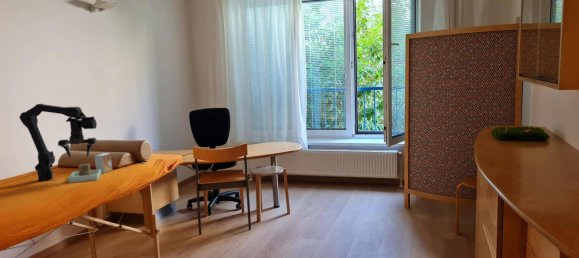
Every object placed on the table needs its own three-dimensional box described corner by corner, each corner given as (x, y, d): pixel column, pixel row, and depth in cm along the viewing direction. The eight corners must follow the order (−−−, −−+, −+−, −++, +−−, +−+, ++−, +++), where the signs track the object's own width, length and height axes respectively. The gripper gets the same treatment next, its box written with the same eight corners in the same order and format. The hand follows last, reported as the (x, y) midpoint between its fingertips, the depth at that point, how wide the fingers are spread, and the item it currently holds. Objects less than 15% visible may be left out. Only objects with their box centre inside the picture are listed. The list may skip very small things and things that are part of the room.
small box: (104, 173, 251) (102, 155, 250) (96, 173, 252) (94, 155, 251) (112, 170, 259) (111, 153, 258) (104, 170, 260) (102, 153, 259)
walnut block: (79, 178, 236) (78, 166, 235) (81, 176, 241) (80, 164, 240) (89, 177, 238) (88, 165, 237) (90, 175, 242) (89, 163, 241)
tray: (68, 182, 231) (68, 177, 230) (74, 176, 244) (73, 171, 244) (97, 179, 235) (97, 174, 234) (101, 174, 248) (100, 169, 248)
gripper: (54, 132, 228) (56, 160, 230) (91, 130, 233) (94, 158, 235) (59, 129, 239) (62, 157, 241) (95, 127, 244) (97, 154, 246)
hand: (78, 156), depth 240 cm, fingers open, 9 cm apart
